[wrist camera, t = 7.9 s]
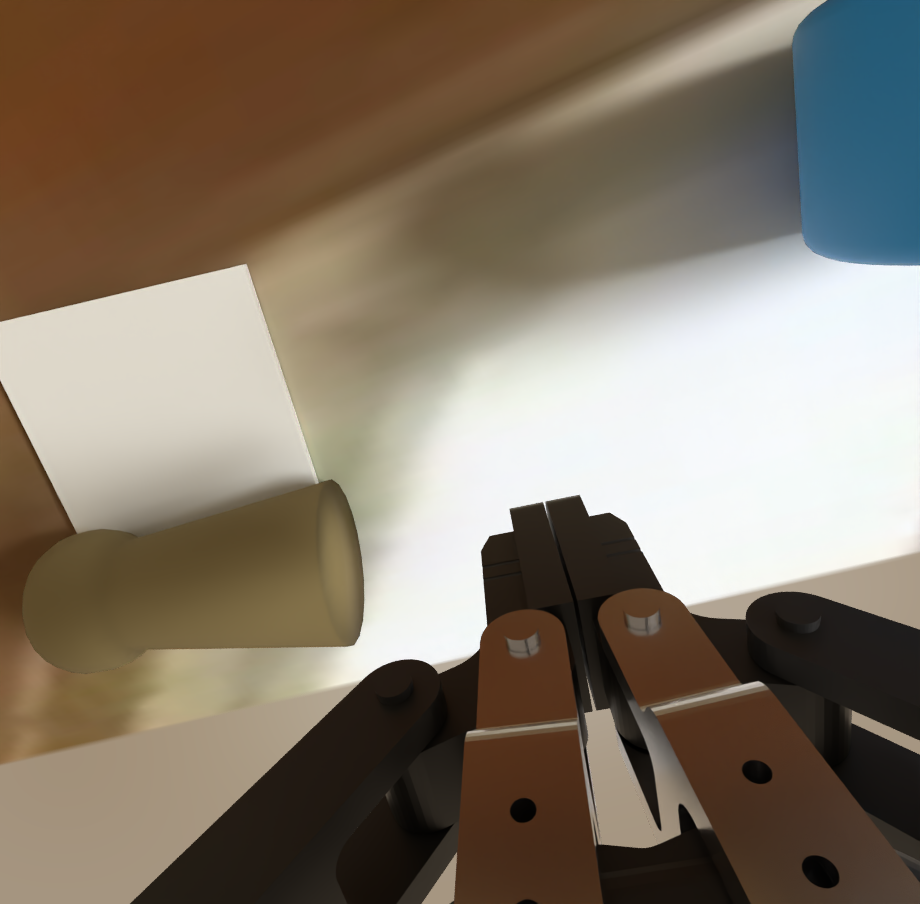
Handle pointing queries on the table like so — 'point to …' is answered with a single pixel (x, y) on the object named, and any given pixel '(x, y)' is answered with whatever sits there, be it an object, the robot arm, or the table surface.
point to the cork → (202, 584)
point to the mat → (156, 403)
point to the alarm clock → (859, 130)
